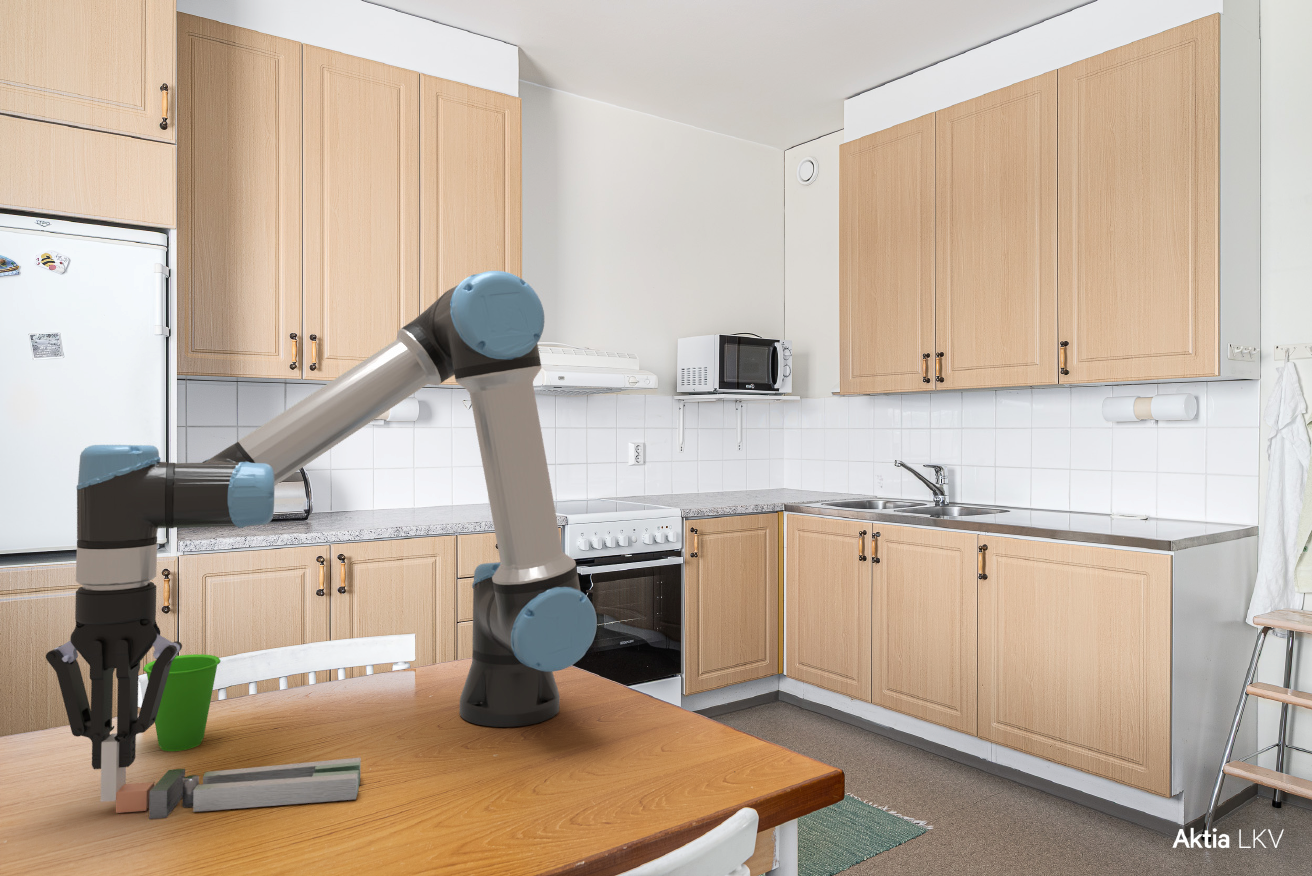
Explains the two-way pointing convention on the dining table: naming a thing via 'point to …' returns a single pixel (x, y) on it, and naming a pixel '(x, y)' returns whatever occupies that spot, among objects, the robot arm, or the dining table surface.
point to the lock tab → (133, 797)
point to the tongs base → (248, 792)
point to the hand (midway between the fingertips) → (113, 795)
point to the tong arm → (282, 771)
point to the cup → (185, 701)
